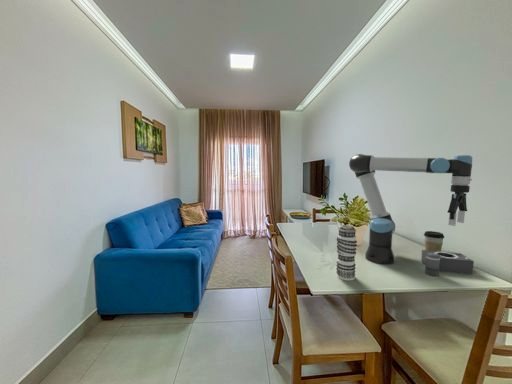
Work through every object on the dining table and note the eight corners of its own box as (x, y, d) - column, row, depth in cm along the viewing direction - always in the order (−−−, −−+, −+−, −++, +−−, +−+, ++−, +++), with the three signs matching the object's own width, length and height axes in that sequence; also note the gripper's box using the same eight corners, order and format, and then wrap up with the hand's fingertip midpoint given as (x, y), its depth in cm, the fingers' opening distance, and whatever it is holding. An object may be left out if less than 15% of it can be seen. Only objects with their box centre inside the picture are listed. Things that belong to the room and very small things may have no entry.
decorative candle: (332, 276, 113) (333, 226, 111) (340, 271, 119) (342, 223, 117) (350, 282, 106) (352, 229, 104) (358, 276, 113) (360, 226, 111)
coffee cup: (446, 261, 133) (448, 235, 132) (427, 259, 135) (429, 234, 134) (437, 255, 143) (438, 231, 141) (419, 253, 144) (420, 230, 143)
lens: (427, 275, 114) (428, 255, 113) (422, 270, 119) (424, 251, 119) (441, 277, 112) (442, 256, 111) (436, 272, 118) (437, 253, 117)
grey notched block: (430, 270, 120) (430, 256, 120) (421, 261, 132) (422, 248, 131) (472, 274, 115) (473, 259, 114) (459, 265, 126) (460, 252, 126)
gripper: (461, 185, 112) (457, 228, 114) (476, 184, 126) (472, 222, 128) (442, 184, 119) (439, 225, 121) (459, 183, 133) (455, 220, 135)
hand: (456, 224), depth 124 cm, fingers open, 13 cm apart
